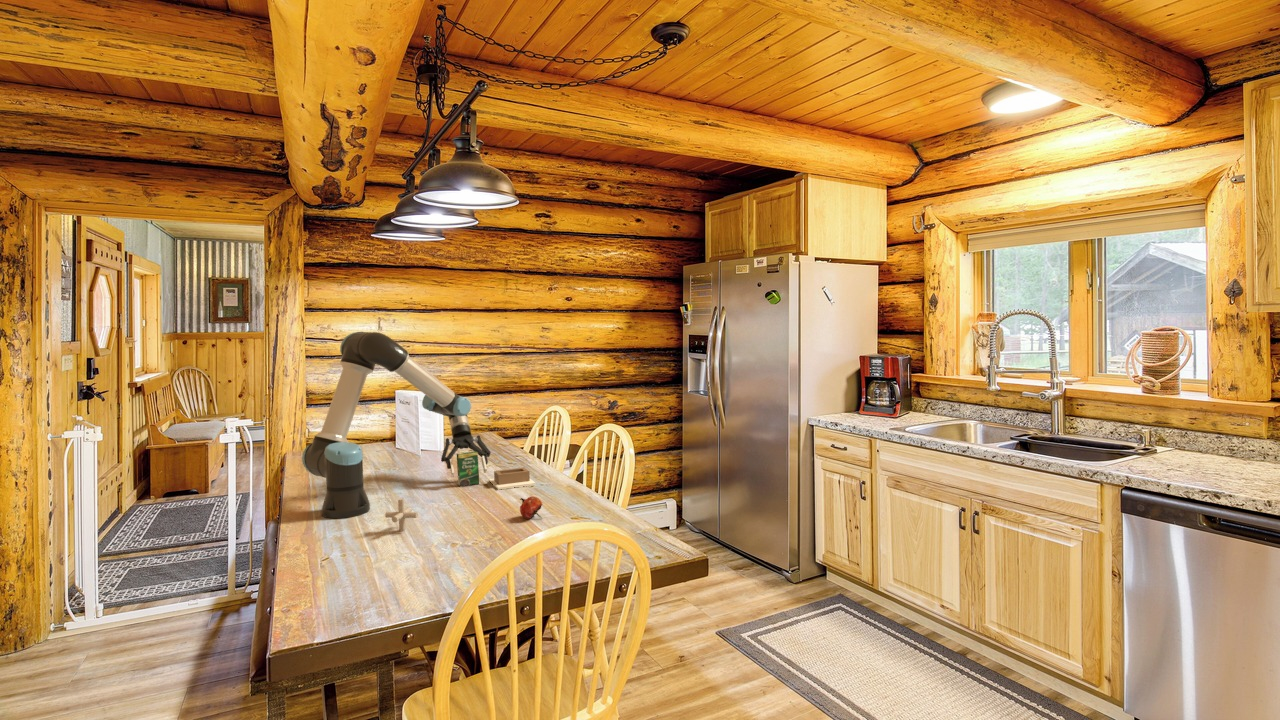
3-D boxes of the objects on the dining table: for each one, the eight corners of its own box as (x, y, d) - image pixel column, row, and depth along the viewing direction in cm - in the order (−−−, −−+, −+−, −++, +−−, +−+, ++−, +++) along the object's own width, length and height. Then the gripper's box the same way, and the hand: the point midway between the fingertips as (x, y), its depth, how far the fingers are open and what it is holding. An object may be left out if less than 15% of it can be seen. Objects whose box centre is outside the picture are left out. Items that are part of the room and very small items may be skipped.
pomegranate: (544, 521, 218) (525, 501, 221) (553, 507, 215) (533, 486, 218) (530, 530, 212) (510, 509, 215) (539, 515, 209) (518, 494, 212)
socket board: (535, 485, 257) (535, 472, 256) (498, 490, 250) (497, 477, 250) (524, 477, 270) (524, 465, 270) (488, 481, 263) (488, 469, 263)
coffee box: (459, 487, 255) (457, 454, 254) (457, 485, 258) (456, 453, 257) (479, 484, 259) (478, 452, 258) (477, 483, 261) (476, 450, 261)
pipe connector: (424, 525, 208) (423, 495, 208) (410, 536, 198) (409, 504, 198) (394, 525, 209) (393, 494, 209) (379, 535, 199) (378, 503, 199)
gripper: (488, 431, 276) (498, 474, 264) (429, 436, 265) (436, 481, 253) (491, 420, 271) (501, 464, 259) (431, 425, 260) (438, 471, 248)
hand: (469, 472), depth 256 cm, fingers open, 12 cm apart
